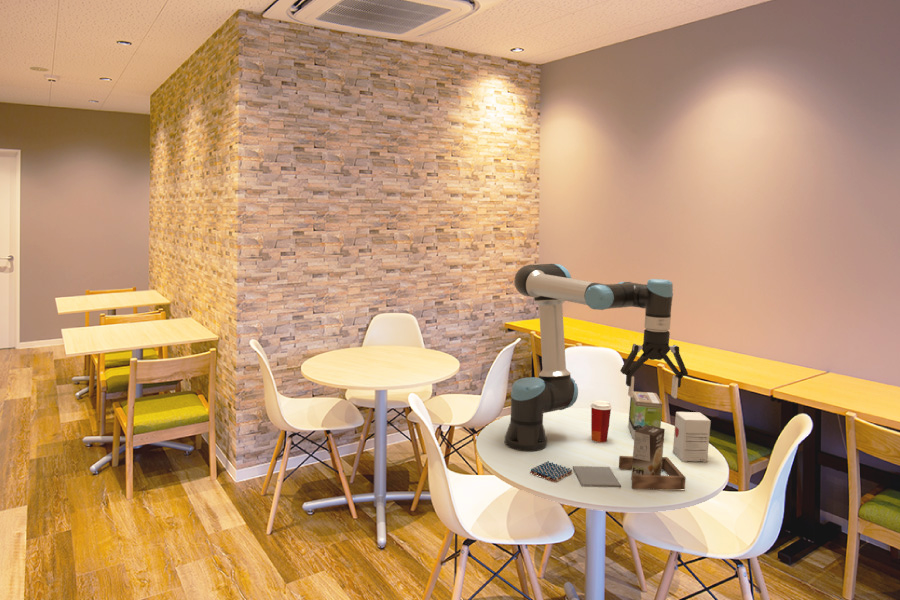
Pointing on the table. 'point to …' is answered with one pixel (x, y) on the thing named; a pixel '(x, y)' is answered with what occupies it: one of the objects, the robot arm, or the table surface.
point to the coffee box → (648, 451)
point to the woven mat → (551, 471)
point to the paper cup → (600, 420)
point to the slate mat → (596, 476)
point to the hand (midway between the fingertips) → (652, 396)
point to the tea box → (644, 411)
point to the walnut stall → (655, 476)
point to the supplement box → (691, 436)
